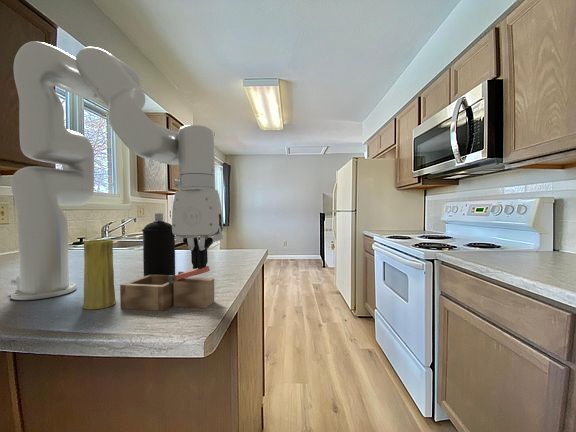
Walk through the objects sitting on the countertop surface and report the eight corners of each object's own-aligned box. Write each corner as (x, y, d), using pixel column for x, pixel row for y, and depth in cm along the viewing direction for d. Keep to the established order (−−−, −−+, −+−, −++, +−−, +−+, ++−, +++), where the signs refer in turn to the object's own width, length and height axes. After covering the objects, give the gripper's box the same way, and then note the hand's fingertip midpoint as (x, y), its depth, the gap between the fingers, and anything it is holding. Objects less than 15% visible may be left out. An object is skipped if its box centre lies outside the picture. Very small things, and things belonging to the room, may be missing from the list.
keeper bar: (171, 281, 63) (170, 277, 63) (178, 278, 66) (177, 274, 66) (206, 272, 62) (204, 267, 62) (212, 269, 65) (210, 265, 65)
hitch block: (120, 308, 62) (120, 277, 62) (150, 294, 72) (149, 268, 71) (199, 312, 59) (199, 280, 59) (219, 298, 69) (219, 270, 68)
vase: (99, 311, 60) (98, 242, 60) (75, 309, 61) (73, 241, 61) (122, 301, 66) (121, 239, 66) (99, 300, 67) (98, 238, 67)
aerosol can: (183, 286, 79) (182, 213, 79) (158, 294, 72) (157, 213, 71) (161, 283, 83) (160, 213, 82) (135, 290, 75) (134, 213, 75)
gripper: (155, 184, 61) (158, 270, 61) (223, 181, 59) (225, 271, 59) (175, 186, 68) (177, 264, 69) (236, 184, 66) (238, 264, 66)
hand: (199, 267), depth 64 cm, fingers closed
